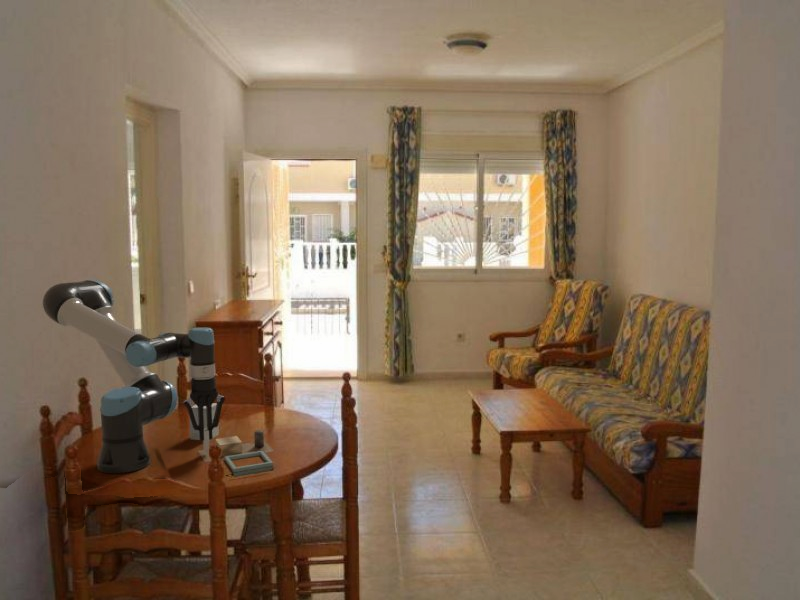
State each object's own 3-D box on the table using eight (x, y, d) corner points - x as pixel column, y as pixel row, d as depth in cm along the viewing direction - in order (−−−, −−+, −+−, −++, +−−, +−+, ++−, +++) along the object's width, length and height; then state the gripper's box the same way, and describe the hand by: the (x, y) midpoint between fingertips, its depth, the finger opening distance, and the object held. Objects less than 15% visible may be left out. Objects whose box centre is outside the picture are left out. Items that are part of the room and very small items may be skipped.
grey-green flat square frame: (233, 477, 197) (233, 468, 197) (224, 464, 208) (224, 456, 208) (273, 470, 203) (273, 462, 202) (262, 458, 213) (262, 450, 213)
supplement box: (209, 444, 227) (208, 408, 225) (189, 443, 228) (188, 407, 227) (219, 438, 234) (218, 402, 232) (200, 436, 235) (199, 401, 234)
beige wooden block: (220, 455, 211) (219, 445, 211) (215, 449, 217) (215, 439, 217) (242, 452, 214) (242, 442, 214) (237, 446, 220) (236, 435, 220)
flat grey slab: (204, 466, 206) (204, 446, 205) (197, 455, 216) (196, 435, 216) (274, 455, 216) (273, 436, 215) (264, 445, 226) (263, 426, 226)
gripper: (183, 381, 203) (187, 456, 206) (226, 377, 209) (229, 450, 212) (179, 377, 210) (183, 449, 213) (221, 372, 216) (224, 443, 218)
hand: (206, 449), depth 212 cm, fingers closed
